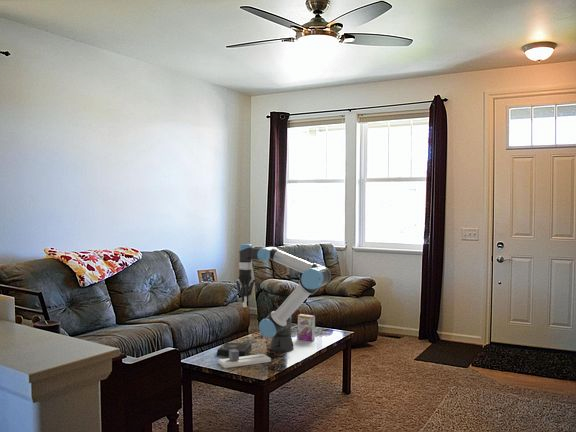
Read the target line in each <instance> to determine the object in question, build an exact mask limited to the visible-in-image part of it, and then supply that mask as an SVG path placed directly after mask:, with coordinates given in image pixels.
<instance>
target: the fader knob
mask: <svg viewBox="0 0 576 432" xmlns="http://www.w3.org/2000/svg"><path fill="white" fill-rule="evenodd" d="M228 358H229V359H230V360H231V361H237V360H239V351H238V350H236V349H232V350H229V356H228Z"/></svg>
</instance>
